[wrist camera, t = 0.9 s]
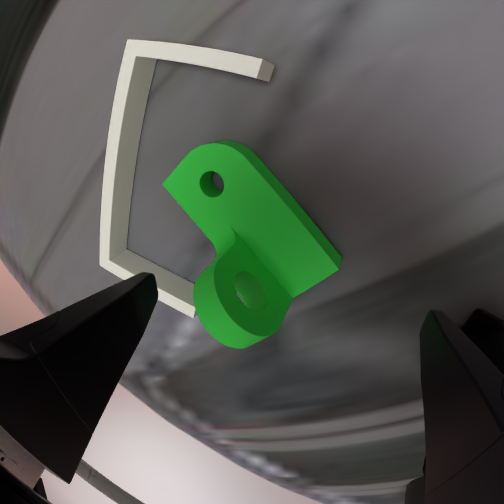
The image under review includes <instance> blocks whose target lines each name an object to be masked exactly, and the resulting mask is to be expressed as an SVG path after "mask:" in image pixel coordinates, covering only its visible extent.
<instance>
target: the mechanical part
mask: <svg viewBox="0 0 504 504" xmlns="http://www.w3.org/2000/svg"><path fill="white" fill-rule="evenodd" d="M213 171H214V172H217V173H218V174H219V175H220V176H221V177H222V179H223V181H224V190H223V191H221V190H219V189H217V188H216V187H215V186H214V184H213V182H212V173H213ZM162 185H163V186H164V187H165V188H166V189H167V190H168V192H169V193H170V194H171V195H172V196H173V198H174V199H175V200H176V201H177V202H178V203H179V205H180V206H181V207H182V208H183V209H184V210H185V212H186V213H187V214H188V215H189V216H190V217H191V219H192V220H193V221H194V222H195V223H196V224H197V226H198V227H199V228H200V229H201V230H202V231H203V233H204V234H205V235H206V236H207V237H208V238H209V239H210V241H211V242H212V243H213V245H214V247H215V249H216V259H215V260H214V261H213V262H212V263H211V264H210V265H209V266H208V267H207V268H206V269H205V270H204V271H203V272H202V273H201V274H200V275H199V276H198V278H197V279H196V281H195V284H194V289H193V300H194V306H195V309H196V312H197V315H198V317H199V319H200V321H201V323H202V324H203V326H204V327H205V329H206V330H207V331H208V332H209V333H210V334H211V335H212V336H213V337H214V338H215V339H216V340H218V341H219V342H221V343H222V344H224V345H226V346H229V347H232V348H246V347H249V346H251V345H253V344H255V343H257V342H259V341H261V340H263V339H265V338H267V337H268V336H270V335H272V334H274V333H275V332H276V331H277V330H278V329H279V327H280V326H281V323H282V321H283V319H284V317H285V315H286V312H287V310H288V308H289V306H290V304H291V301H292V299H293V298H294V297H296V296H298V295H299V294H301V293H303V292H304V291H306V290H307V289H309V288H311V287H312V286H314V285H316V284H317V283H319V282H320V281H322V280H324V279H325V278H327V277H329V276H330V275H332V274H333V273H335V272H336V271H338V270H339V269H340V264H341V259H342V257H341V256H340V255H339V254H338V252H337V251H336V250H335V248H334V247H333V246H332V245H331V243H330V242H329V241H328V240H327V238H326V237H325V236H324V235H323V233H322V232H321V231H320V230H319V228H318V227H317V226H316V225H315V224H314V222H313V221H312V220H311V219H310V217H309V216H308V215H307V214H306V213H305V211H304V210H303V209H302V208H301V206H300V205H299V204H298V203H297V202H296V201H295V199H294V198H293V197H292V196H291V195H290V193H289V192H288V191H287V190H286V189H285V187H284V186H283V185H282V184H281V183H280V182H279V180H278V179H277V178H276V177H275V176H274V175H273V174H272V172H271V171H270V170H269V169H268V168H267V167H266V166H265V164H264V163H263V162H262V161H261V160H260V159H259V158H258V156H257V155H256V154H255V153H254V152H253V151H251V150H250V149H249V148H247V147H246V146H244V145H242V144H240V143H237V142H233V141H218V142H214V143H209V144H205V145H202V146H199V147H197V148H195V149H194V150H192V151H191V152H190V153H189V154H188V155H187V156H186V157H185V158H184V159H183V160H182V162H181V163H180V164H179V165H178V166H177V167H176V169H175V170H174V171H173V172H172V173H171V175H170V176H169V177H168V178H167V179H166V181H165V182H164V183H163V184H162ZM236 292H237V293H238V294H239V295H240V296H241V298H242V299H243V301H244V303H245V305H246V306H245V305H244V304H243V303H242V301H241V300H240V298H239V297H238V295H237V293H236Z"/></svg>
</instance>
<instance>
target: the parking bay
mask: <svg viewBox="0 0 504 504" xmlns="http://www.w3.org/2000/svg"><path fill="white" fill-rule="evenodd" d="M157 59H162V60H169V61H175V62H181V63H187V64H193V65H198V66H204V67H209V68H214V69H218V70H223V71H227V72H232V73H236V74H240V75H244V76H248V77H252V78H256V79H260V80H263V81H267V82H270V79H271V76H272V73H273V69H274V66H275V65H273V64H271V63H269V62H267V61H265V60H263V59H259V58H255V57H251V56H246V55H242V54H237V53H232V52H227V51H222V50H216V49H210V48H204V47H198V46H191V45H184V44H176V43H167V42H157V41H145V40H129V39H128V40H127V44H126V48H125V52H124V56H123V60H122V64H121V69H120V73H119V78H118V83H117V88H116V93H115V98H114V104H113V109H112V115H111V121H110V128H109V135H108V142H107V150H106V158H105V168H104V178H103V190H102V204H101V224H100V266H102V267H103V268H105V269H106V270H108V271H110V272H111V273H113V274H115V275H117V276H118V277H120V278H122V279H123V280H126V279H128V278H130V277H132V276H134V275H137V274H139V273H141V272H148V273H153V274H154V275H155V278H156V283H157V288H158V300H160V301H162V302H164V303H166V304H168V305H169V306H171V307H173V308H175V309H177V310H179V311H181V312H182V313H184V314H186V315H188V316H190V317H192V318H194V317H195V316H196V315H197V312H196V309H195V306H194V300H193V289H194V283H192V282H190V281H188V280H186V279H184V278H182V277H180V276H178V275H176V274H174V273H172V272H170V271H168V270H166V269H164V268H162V267H160V266H158V265H156V264H154V263H152V262H151V261H149V260H147V259H145V258H143V257H141V256H139V255H137V254H135V253H133V252H132V251H130V250H128V249H127V237H128V225H129V215H130V205H131V197H132V188H133V181H134V173H135V166H136V160H137V153H138V147H139V141H140V135H141V130H142V124H143V119H144V114H145V109H146V104H147V99H148V95H149V90H150V86H151V82H152V77H153V73H154V69H155V65H156V61H157Z"/></svg>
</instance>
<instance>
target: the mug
mask: <svg viewBox="0 0 504 504" xmlns="http://www.w3.org/2000/svg"><path fill="white" fill-rule="evenodd" d="M425 491H426V484H425V480H424V477H422V478H419V479H416V480H414V481H412V482H410V483H409V484H408V485H407V487H406V496H405V504H425V496H426V494H425Z"/></svg>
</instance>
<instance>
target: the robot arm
mask: <svg viewBox="0 0 504 504" xmlns="http://www.w3.org/2000/svg"><path fill="white" fill-rule="evenodd" d="M157 300H158V288H157V283H156V278H155V275H154V274H153V273H148V272H141V273H139V274H137V275H134V276H132V277H130V278H128V279H126V280H123V281H121V282H119V283H117V284H115V285H113V286H111V287H108V288H106V289H104V290H102V291H100V292H98V293H96V294H93V295H91V296H89V297H87V298H85V299H83V300H81V301H79V302H76V303H74V304H72V305H70V306H68V307H66V308H64V309H62V310H61V311H58V312H55V313H53V314H51V315H49V316H47V317H45V318H43V319H41V320H38V321H36V322H34V323H31V324H29V325H26V326H24V327H22V328H19V329H17V330H14V331H11V332H9V333H7V334H4V335H1V336H0V504H52V503H51V502H49V501H48V500H47V496H46V493H45V489H44V485H43V481H42V478H40V476H41V474H42V473H43V471H44V469H46V470H48V471H49V472H50V473H52V474H54V475H55V476H57V477H58V478H60V479H61V480H63V481H65V482H66V483H68V484H70V482H71V481H72V478H73V476H74V474H75V472H76V470H77V467H78V465H79V463H80V461H81V458H82V456H83V454H84V452H85V449H86V448H87V445H88V443H89V441H90V439H91V437H92V434H93V432H94V430H95V428H96V426H97V424H98V422H99V420H100V418H101V416H102V414H103V412H104V410H105V408H106V406H107V404H108V402H109V400H110V398H111V395H112V394H113V391H114V389H115V388H116V386H117V384H118V382H119V380H120V378H121V376H122V374H123V372H124V370H125V368H126V366H127V364H128V362H129V361H130V359H131V357H132V355H133V353H134V351H135V349H136V347H137V345H138V344H139V342H140V340H141V338H142V336H143V334H144V332H145V329H146V327H147V324H148V322H149V319H150V317H151V315H152V312H153V310H154V307H155V305H156V303H157ZM480 315H481V317H479V318H477V317H478V316H480ZM420 361H421V385H422V395H423V406H424V420H425V441H426V457H425V460H424V466H423V474H424V480H425V484H426V491H425V494H426V496H425V504H504V321H502V320H500V319H498V318H496V317H494V316H492V315H490V314H489V313H487V312H485V311H483V310H477V311H475V313H474V314H473V315H472V316H471V318H470V319H469V321H468V322H467V323H466V325H465V326H464V327H463V329H462V330H460V329H459V328H458V327H457V326H456V325H455V324H454V323H453V322H452V321H451V320H450V319H449V318H448V317H447V316H446V315H445V314H444V313H443V312H442V311H440V310H430V311H429V312H428V314H427V316H426V318H425V321H424V323H423V325H422V327H421V330H420Z"/></svg>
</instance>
